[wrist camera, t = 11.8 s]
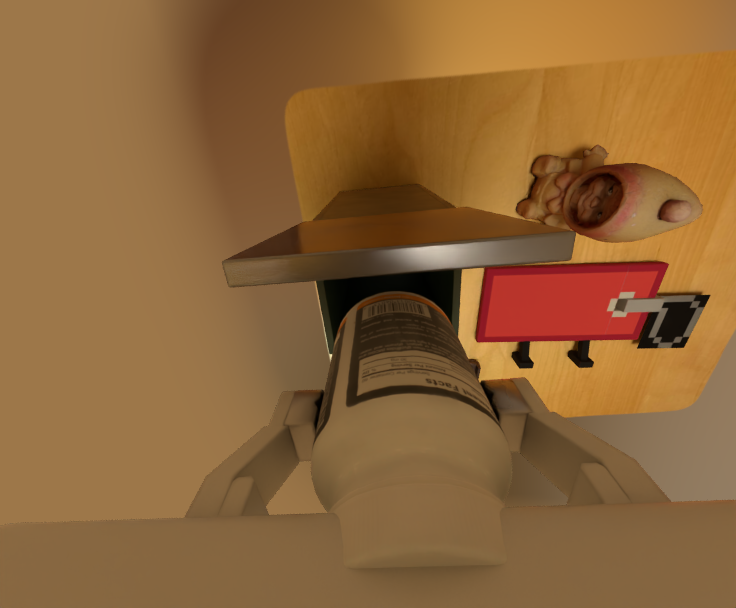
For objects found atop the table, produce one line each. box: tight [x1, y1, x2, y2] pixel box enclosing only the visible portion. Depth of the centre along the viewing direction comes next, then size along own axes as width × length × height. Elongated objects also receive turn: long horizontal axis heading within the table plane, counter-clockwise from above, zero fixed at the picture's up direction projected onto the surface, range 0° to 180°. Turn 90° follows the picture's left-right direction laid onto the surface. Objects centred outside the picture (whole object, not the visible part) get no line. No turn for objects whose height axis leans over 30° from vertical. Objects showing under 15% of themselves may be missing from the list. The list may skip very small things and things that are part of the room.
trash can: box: [312, 184, 462, 354], centre depth 28 cm, size 10×10×20 cm
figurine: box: [516, 145, 703, 243], centre depth 29 cm, size 10×8×15 cm
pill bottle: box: [311, 291, 512, 569], centre depth 10 cm, size 6×6×10 cm
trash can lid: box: [222, 207, 576, 287], centre depth 12 cm, size 10×10×1 cm
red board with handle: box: [475, 262, 710, 368], centre depth 41 cm, size 30×3×15 cm
